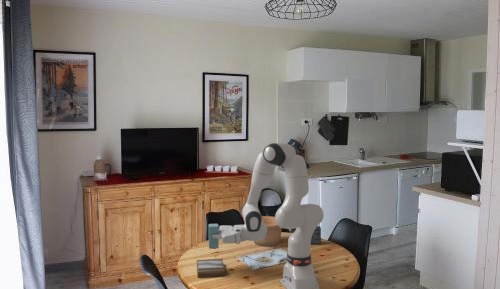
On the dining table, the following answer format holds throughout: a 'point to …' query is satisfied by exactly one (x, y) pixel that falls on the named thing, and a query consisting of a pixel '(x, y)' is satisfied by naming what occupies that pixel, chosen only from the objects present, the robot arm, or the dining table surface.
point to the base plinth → (210, 268)
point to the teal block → (213, 241)
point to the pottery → (270, 233)
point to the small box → (316, 236)
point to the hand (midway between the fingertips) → (211, 234)
